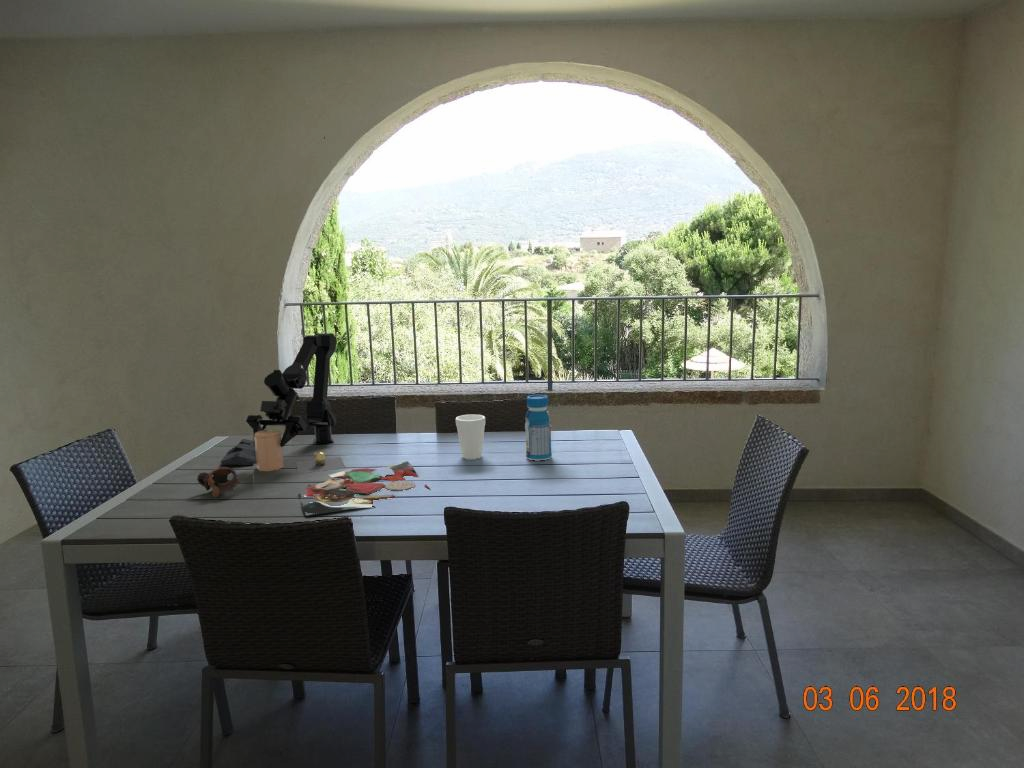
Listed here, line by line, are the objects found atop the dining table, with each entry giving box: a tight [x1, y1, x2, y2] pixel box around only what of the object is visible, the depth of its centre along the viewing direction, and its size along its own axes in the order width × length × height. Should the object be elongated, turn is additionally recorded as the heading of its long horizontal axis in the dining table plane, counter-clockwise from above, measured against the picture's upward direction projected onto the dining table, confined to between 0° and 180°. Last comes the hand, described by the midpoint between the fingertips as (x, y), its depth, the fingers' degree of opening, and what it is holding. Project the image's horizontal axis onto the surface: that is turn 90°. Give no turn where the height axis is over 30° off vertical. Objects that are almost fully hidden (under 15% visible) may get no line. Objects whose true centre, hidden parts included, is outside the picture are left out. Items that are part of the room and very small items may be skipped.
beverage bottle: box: [524, 394, 553, 462], centre depth 233 cm, size 8×8×20 cm
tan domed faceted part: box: [253, 429, 284, 472], centre depth 231 cm, size 7×7×12 cm
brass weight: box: [314, 451, 326, 466], centre depth 233 cm, size 3×3×4 cm
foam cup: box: [455, 414, 486, 460], centre depth 238 cm, size 10×9×13 cm
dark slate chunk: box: [220, 438, 257, 467], centre depth 246 cm, size 15×22×5 cm
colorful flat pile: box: [301, 461, 432, 515], centre depth 209 cm, size 35×35×2 cm
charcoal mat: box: [296, 456, 346, 474], centre depth 233 cm, size 14×14×1 cm
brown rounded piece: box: [196, 466, 241, 498], centre depth 209 cm, size 12×10×8 cm
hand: (267, 445), depth 230 cm, fingers open, 9 cm apart
